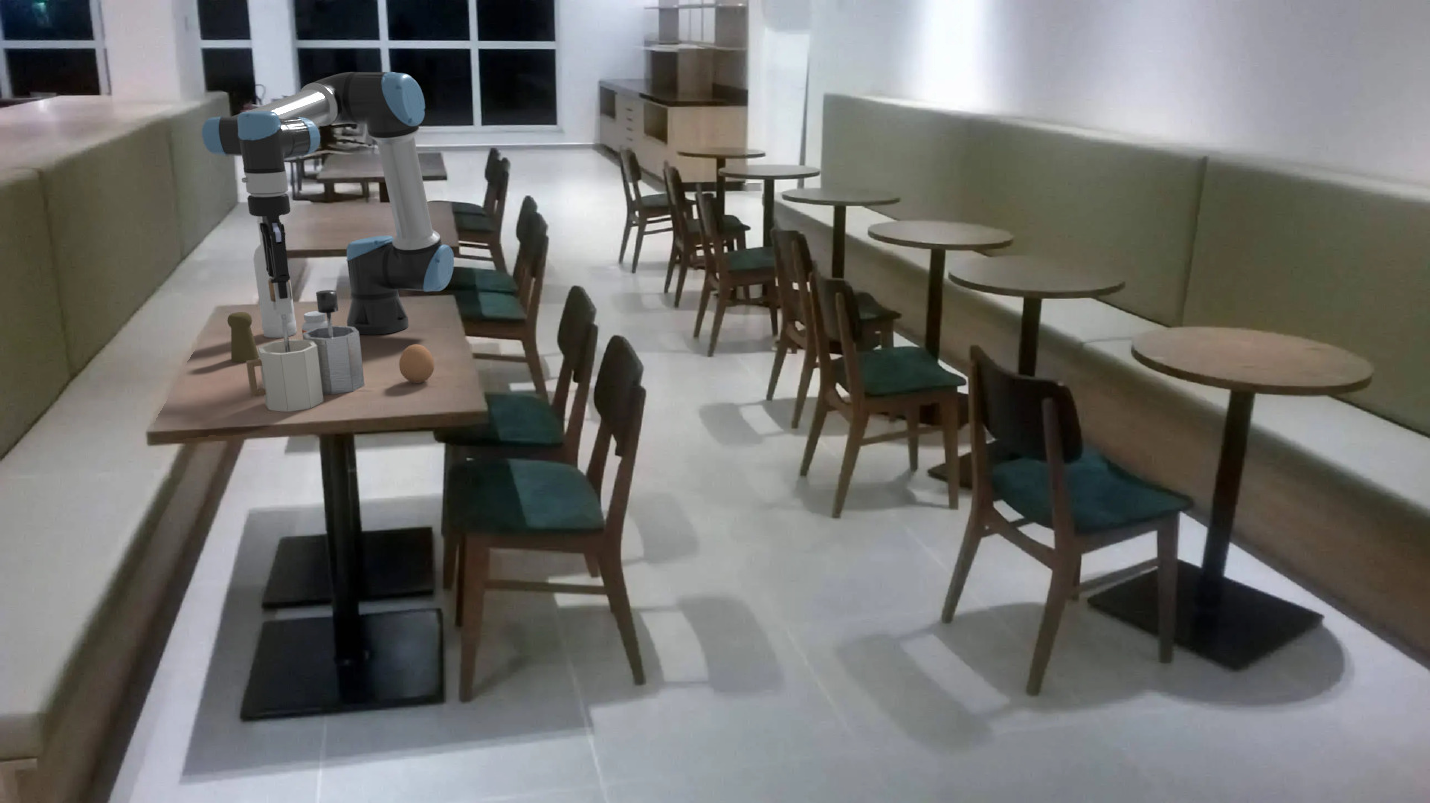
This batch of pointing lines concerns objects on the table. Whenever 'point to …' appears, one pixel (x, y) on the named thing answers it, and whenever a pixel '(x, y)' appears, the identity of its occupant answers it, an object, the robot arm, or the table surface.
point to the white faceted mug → (287, 375)
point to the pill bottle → (314, 321)
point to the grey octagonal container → (338, 358)
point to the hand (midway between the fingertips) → (282, 311)
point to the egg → (416, 364)
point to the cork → (242, 338)
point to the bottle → (268, 314)
